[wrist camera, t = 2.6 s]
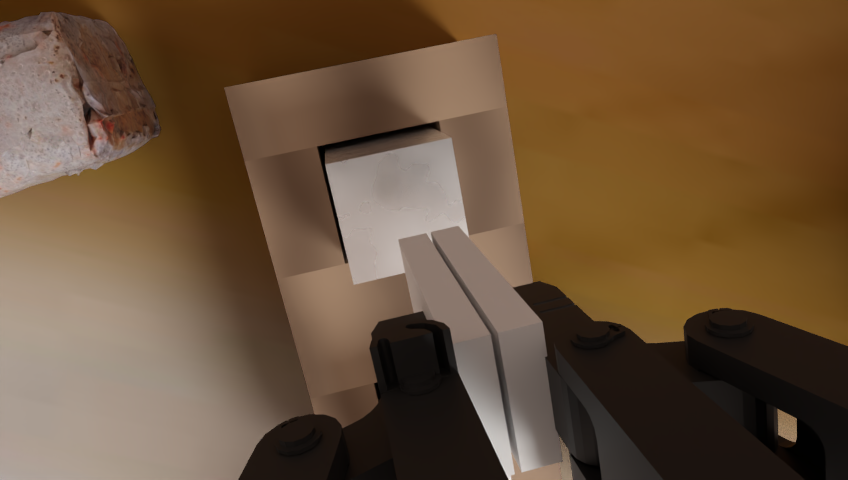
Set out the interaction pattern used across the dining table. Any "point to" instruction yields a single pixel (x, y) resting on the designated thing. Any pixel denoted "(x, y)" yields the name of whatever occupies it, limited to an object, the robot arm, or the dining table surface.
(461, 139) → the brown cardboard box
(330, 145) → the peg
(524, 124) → the dining table surface
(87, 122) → the food item
